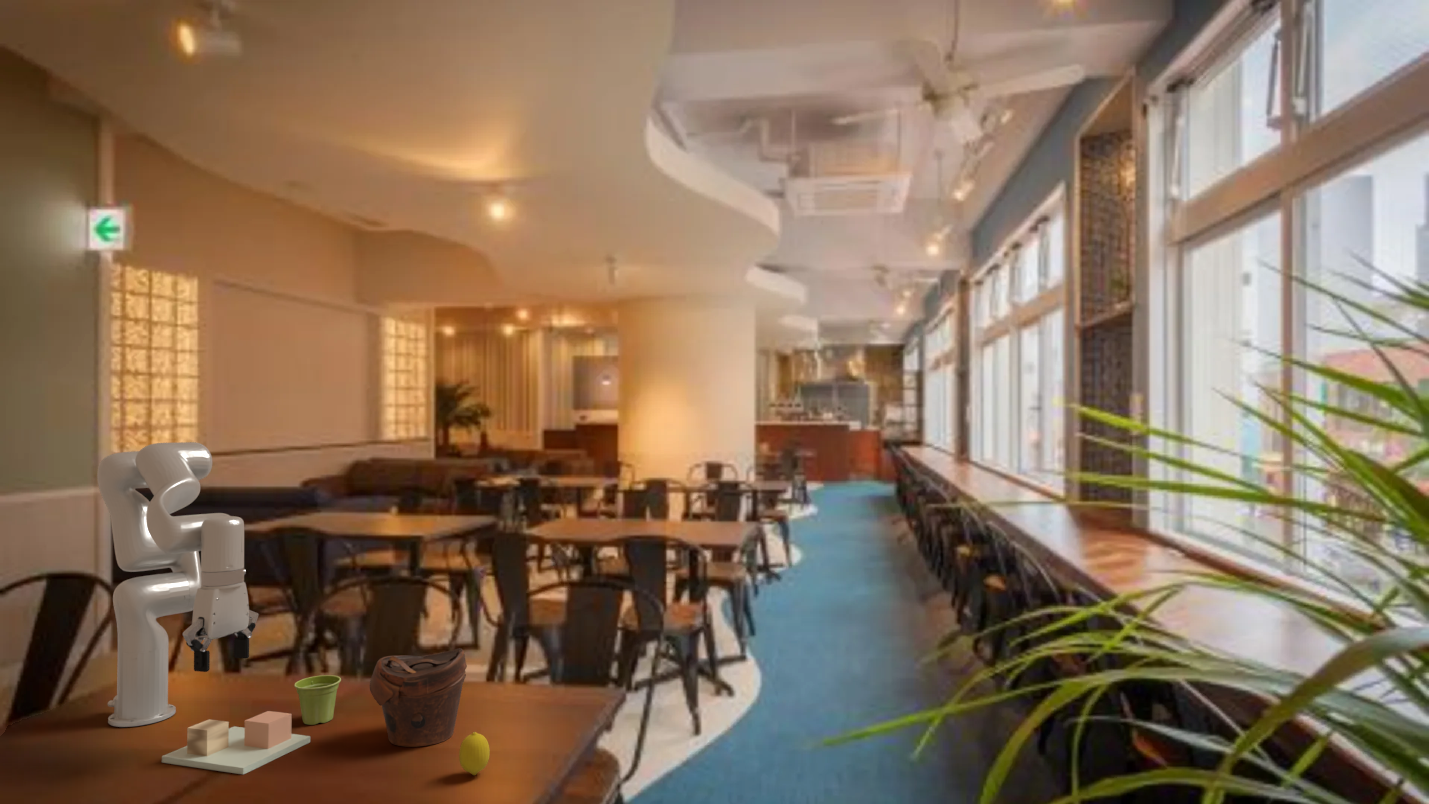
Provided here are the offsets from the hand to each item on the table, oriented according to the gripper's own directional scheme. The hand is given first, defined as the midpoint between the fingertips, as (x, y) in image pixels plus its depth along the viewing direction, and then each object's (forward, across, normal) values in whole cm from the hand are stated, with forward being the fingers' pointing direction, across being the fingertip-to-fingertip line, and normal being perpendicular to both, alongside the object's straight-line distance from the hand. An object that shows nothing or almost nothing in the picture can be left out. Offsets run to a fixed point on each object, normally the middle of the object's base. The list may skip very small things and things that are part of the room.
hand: (222, 664), depth 171 cm
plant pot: (+18, -22, +5) cm, 28 cm away
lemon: (+19, -5, +54) cm, 57 cm away
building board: (+18, -2, +2) cm, 18 cm away
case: (+18, -19, +32) cm, 42 cm away
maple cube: (+17, +1, -2) cm, 17 cm away
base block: (+17, -5, +6) cm, 19 cm away
